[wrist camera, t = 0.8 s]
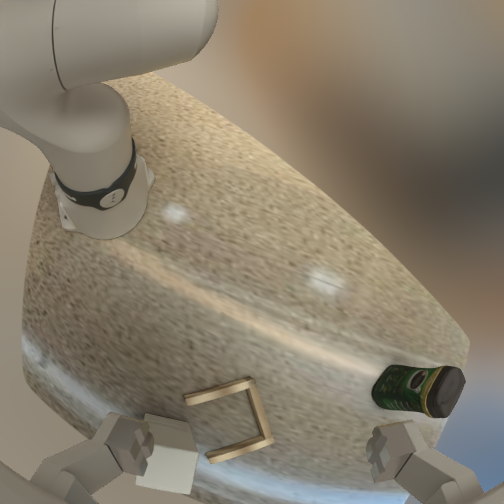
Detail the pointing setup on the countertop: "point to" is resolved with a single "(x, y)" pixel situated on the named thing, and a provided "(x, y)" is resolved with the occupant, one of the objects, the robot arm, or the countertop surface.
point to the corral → (257, 408)
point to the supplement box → (170, 456)
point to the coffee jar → (420, 389)
